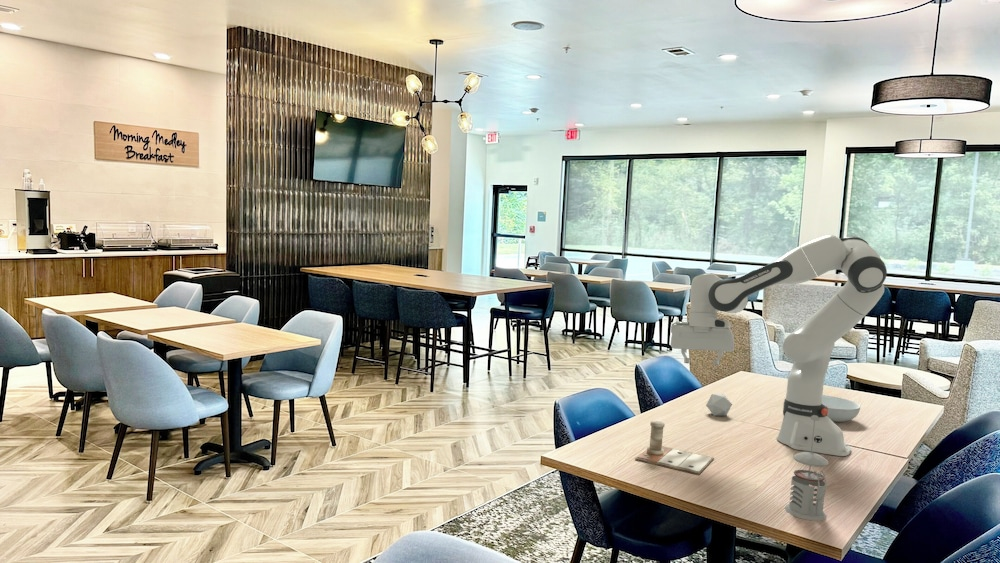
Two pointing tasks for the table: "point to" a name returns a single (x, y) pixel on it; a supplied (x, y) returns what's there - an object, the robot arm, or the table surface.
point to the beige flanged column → (656, 438)
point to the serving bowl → (840, 408)
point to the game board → (678, 460)
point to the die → (719, 404)
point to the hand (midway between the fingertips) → (701, 364)
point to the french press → (805, 493)
